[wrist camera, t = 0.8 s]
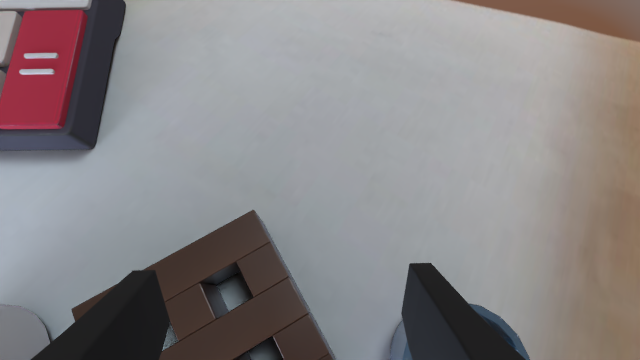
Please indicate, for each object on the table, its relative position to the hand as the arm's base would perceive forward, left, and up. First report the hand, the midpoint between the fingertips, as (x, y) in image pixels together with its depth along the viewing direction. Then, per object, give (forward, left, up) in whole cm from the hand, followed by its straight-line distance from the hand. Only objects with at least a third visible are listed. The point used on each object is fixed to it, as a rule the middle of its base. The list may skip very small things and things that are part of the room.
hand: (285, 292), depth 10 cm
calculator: (+27, +10, -15) cm, 33 cm away
